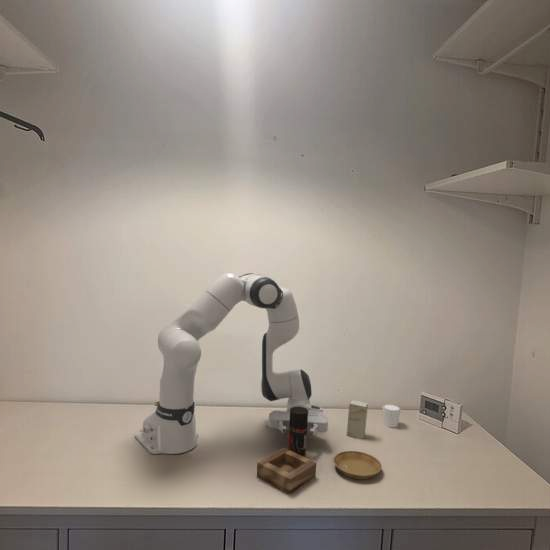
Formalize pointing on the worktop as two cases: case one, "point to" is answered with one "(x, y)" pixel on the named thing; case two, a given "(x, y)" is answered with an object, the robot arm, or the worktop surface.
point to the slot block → (286, 470)
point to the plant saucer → (357, 464)
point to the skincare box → (357, 419)
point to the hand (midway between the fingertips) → (297, 431)
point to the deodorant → (298, 430)
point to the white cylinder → (391, 415)
